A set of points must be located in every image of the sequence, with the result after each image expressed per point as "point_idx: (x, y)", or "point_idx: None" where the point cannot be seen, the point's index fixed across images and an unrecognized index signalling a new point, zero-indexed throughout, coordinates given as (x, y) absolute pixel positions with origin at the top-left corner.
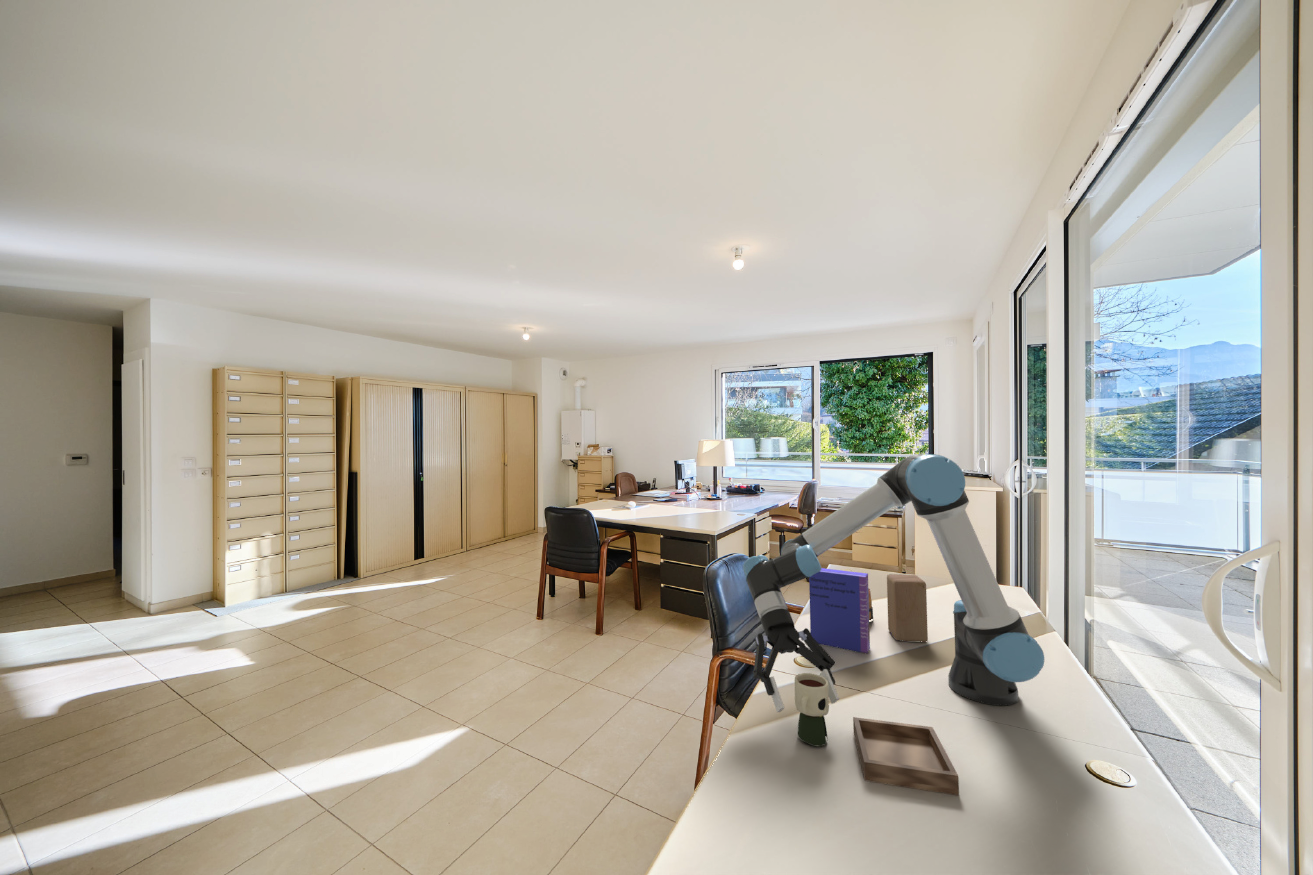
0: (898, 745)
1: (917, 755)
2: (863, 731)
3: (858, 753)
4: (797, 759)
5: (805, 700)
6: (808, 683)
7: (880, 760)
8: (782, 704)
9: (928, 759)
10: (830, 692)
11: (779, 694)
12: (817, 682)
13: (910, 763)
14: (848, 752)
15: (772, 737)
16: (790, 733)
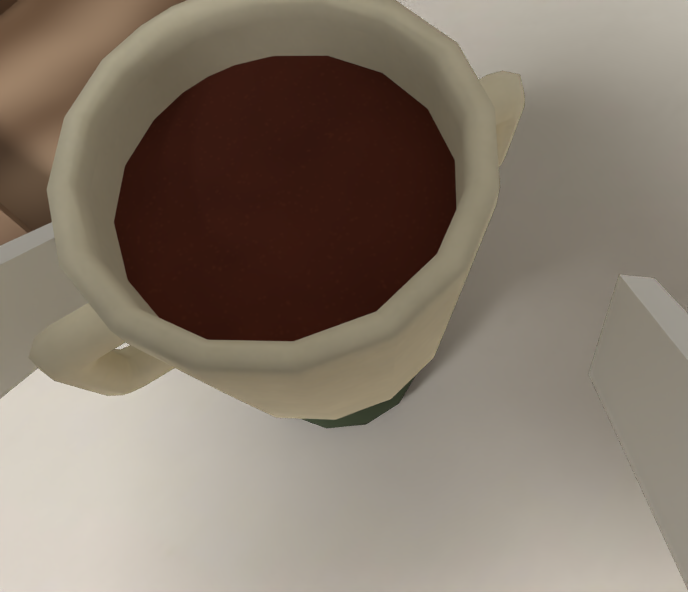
0: (30, 128)
1: (33, 59)
2: None
3: None
4: (520, 248)
5: (499, 73)
6: (267, 253)
7: None
8: (636, 290)
9: (23, 31)
10: (50, 297)
11: (671, 334)
12: (148, 232)
13: (106, 36)
14: None
15: (549, 465)
16: (416, 453)
